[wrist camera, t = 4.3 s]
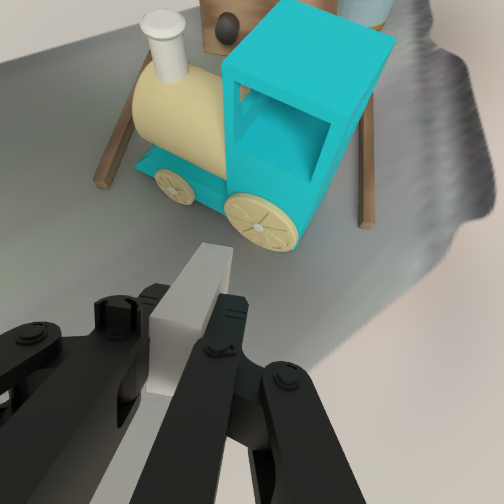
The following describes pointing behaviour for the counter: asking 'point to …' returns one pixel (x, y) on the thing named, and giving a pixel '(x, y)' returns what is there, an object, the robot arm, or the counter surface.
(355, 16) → the bottle
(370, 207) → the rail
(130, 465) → the counter surface
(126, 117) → the bar
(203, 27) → the buffer stop
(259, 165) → the toy train
